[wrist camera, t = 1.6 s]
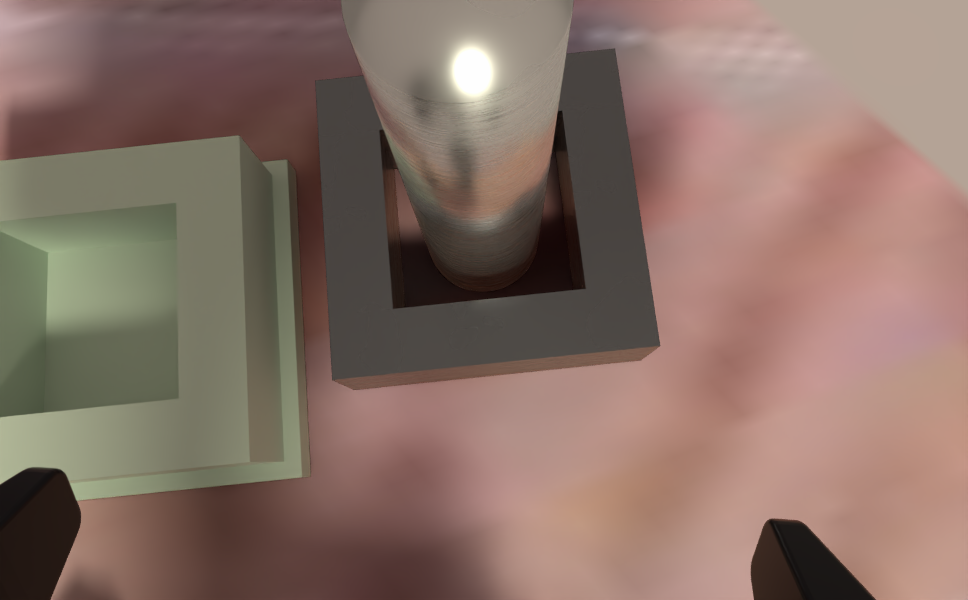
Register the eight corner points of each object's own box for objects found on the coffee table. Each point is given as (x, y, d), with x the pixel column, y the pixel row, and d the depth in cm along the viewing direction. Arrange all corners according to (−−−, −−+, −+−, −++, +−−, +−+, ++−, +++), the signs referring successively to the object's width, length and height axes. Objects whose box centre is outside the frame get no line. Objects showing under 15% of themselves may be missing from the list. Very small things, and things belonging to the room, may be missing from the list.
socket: (640, 360, 23) (660, 345, 20) (354, 390, 23) (332, 379, 20) (602, 96, 25) (614, 48, 22) (337, 124, 25) (315, 80, 22)
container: (310, 476, 23) (269, 479, 19) (-13, 510, 23) (-121, 520, 19) (295, 170, 25) (256, 117, 21) (-1, 202, 25) (-95, 154, 21)
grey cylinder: (544, 285, 24) (588, 85, 11) (432, 297, 24) (347, 111, 11) (531, 180, 24) (559, -120, 12) (423, 191, 25) (334, -96, 12)
